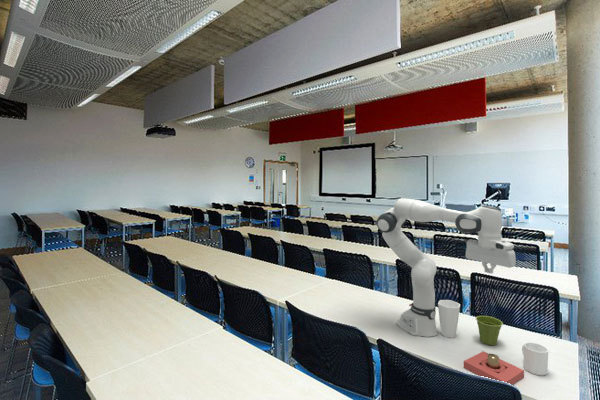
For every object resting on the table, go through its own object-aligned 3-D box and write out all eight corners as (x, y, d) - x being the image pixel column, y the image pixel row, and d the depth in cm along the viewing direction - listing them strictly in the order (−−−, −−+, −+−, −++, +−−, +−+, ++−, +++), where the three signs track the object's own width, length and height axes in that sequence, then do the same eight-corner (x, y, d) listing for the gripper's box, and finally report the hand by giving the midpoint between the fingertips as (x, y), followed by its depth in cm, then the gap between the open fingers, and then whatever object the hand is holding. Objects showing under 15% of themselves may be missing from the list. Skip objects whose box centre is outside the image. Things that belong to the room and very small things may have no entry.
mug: (513, 359, 142) (514, 338, 141) (531, 359, 142) (532, 338, 141) (532, 376, 130) (533, 352, 129) (552, 376, 130) (553, 352, 129)
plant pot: (505, 350, 150) (506, 327, 149) (477, 346, 154) (478, 324, 153) (498, 338, 161) (499, 317, 161) (473, 334, 165) (473, 314, 164)
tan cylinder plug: (485, 370, 134) (485, 355, 134) (491, 368, 136) (491, 352, 135) (494, 376, 130) (495, 359, 130) (501, 373, 132) (501, 357, 132)
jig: (463, 367, 136) (463, 361, 136) (482, 357, 144) (483, 351, 144) (505, 389, 122) (505, 382, 122) (524, 377, 129) (524, 370, 129)
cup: (455, 330, 170) (456, 300, 169) (463, 340, 160) (464, 307, 159) (434, 329, 171) (434, 299, 170) (441, 339, 161) (441, 307, 160)
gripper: (462, 239, 145) (462, 268, 146) (510, 247, 128) (509, 279, 128) (470, 238, 148) (470, 266, 149) (518, 245, 131) (517, 277, 131)
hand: (488, 272), depth 139 cm, fingers closed
